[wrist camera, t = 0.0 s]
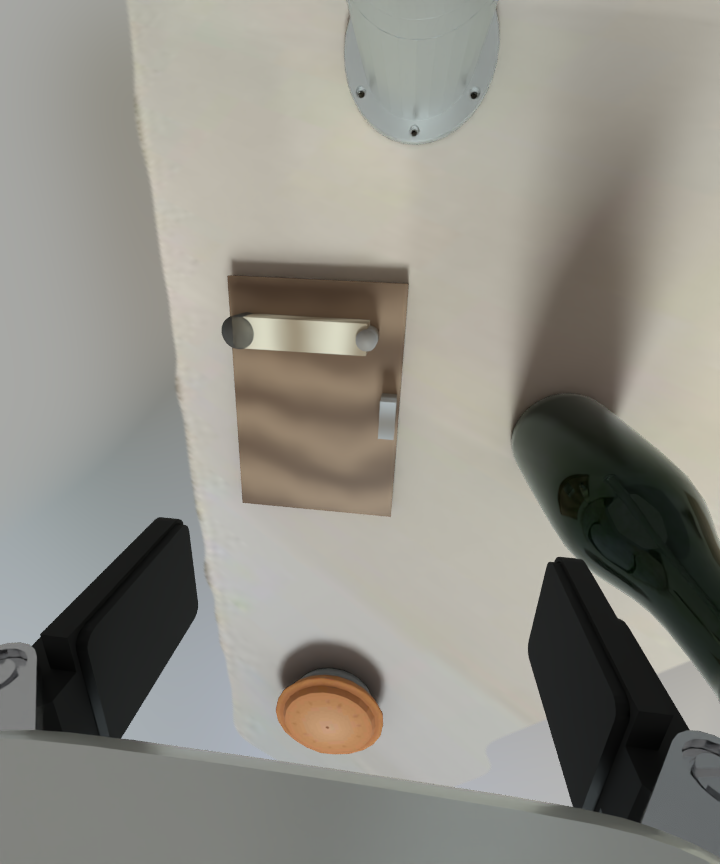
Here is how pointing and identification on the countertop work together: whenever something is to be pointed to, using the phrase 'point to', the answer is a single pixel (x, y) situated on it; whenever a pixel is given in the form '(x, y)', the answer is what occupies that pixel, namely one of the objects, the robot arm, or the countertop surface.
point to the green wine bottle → (627, 517)
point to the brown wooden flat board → (320, 399)
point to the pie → (330, 712)
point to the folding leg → (300, 334)
